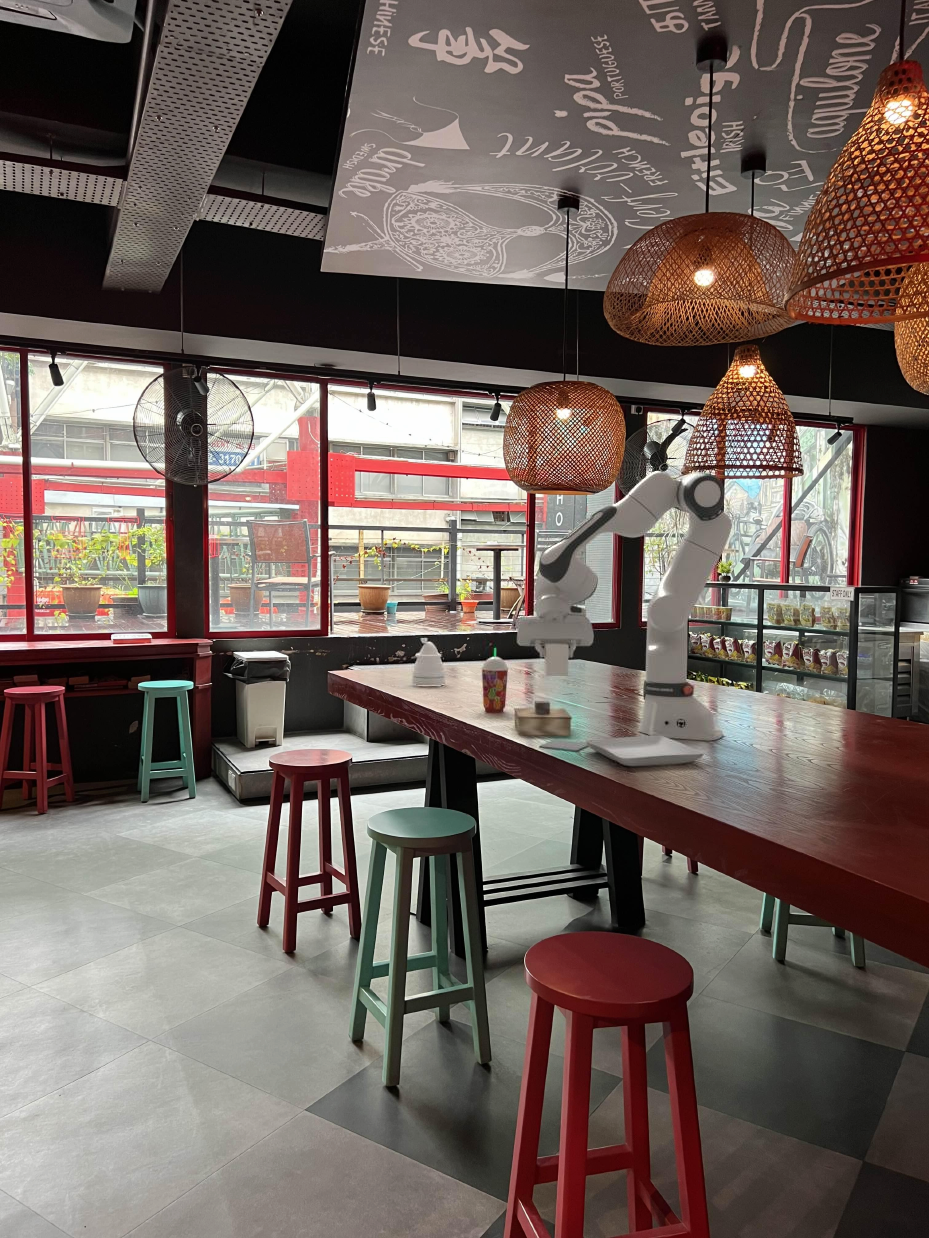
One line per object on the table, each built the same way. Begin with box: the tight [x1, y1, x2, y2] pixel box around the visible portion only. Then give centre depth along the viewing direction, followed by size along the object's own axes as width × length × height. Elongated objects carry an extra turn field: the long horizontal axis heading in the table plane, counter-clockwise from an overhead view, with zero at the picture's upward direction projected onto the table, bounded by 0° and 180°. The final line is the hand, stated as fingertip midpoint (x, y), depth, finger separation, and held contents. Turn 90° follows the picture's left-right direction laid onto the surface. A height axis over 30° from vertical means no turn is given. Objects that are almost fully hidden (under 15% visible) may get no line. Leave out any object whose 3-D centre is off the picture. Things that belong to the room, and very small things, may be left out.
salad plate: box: [585, 735, 705, 767], centre depth 204 cm, size 21×21×3 cm
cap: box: [544, 643, 569, 677], centre depth 225 cm, size 6×6×8 cm
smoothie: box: [481, 647, 509, 714], centre depth 270 cm, size 8×8×20 cm
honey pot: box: [411, 637, 446, 685], centre depth 333 cm, size 13×13×18 cm
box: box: [513, 700, 572, 736], centre depth 238 cm, size 14×14×8 cm
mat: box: [538, 738, 589, 753], centre depth 217 cm, size 10×10×1 cm
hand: (556, 655), depth 224 cm, fingers closed on cap, 6 cm apart
